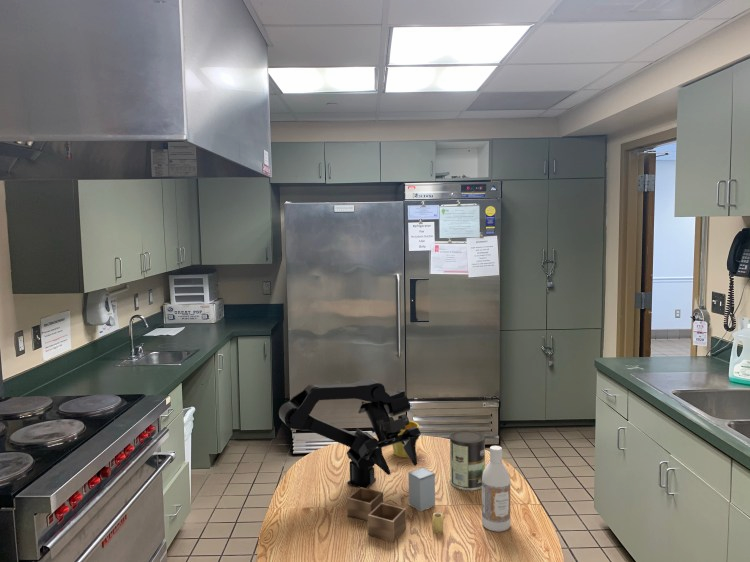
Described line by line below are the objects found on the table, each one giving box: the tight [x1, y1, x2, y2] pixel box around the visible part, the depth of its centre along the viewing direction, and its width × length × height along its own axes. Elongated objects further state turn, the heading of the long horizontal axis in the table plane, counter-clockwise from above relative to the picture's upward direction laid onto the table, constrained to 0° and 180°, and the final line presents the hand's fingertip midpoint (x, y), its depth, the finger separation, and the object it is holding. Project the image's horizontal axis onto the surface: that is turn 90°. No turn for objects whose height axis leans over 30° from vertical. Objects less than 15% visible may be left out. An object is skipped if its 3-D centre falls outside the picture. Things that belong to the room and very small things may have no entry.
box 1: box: [346, 487, 385, 523], centre depth 139 cm, size 7×7×5 cm
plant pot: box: [391, 420, 420, 458], centre depth 178 cm, size 10×10×10 cm
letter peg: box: [432, 512, 444, 534], centre depth 131 cm, size 2×2×4 cm
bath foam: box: [481, 445, 511, 533], centre depth 132 cm, size 7×7×20 cm
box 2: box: [367, 503, 407, 543], centre depth 131 cm, size 7×7×5 cm
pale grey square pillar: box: [408, 467, 436, 512], centre depth 143 cm, size 5×5×9 cm
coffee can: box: [449, 429, 486, 491], centre depth 156 cm, size 10×10×14 cm
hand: (403, 469), depth 148 cm, fingers open, 9 cm apart
